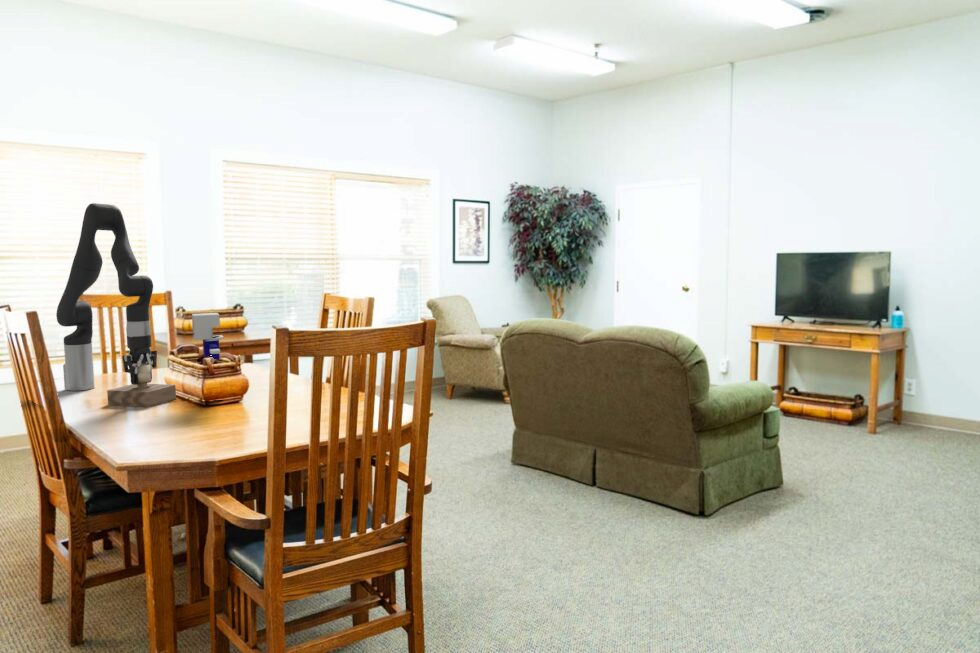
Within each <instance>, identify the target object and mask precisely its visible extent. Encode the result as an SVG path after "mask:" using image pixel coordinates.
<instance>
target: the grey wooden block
mask: <svg viewBox="0 0 980 653" xmlns="http://www.w3.org/2000/svg"><path fill="white" fill-rule="evenodd" d="M106 392H107V393H106V394H107V405H109V406H123V407H124V406H125V407H135V408H136V407H139V408H140V407H141V408H142V407H143V408H149V407H153V406H156V405H160V404H163V403H167V402H171V401H173V399H174V400H177V395H176V394H177V393H176V384H165V383H163V384H162V383H161V384H160V383H147V388H145V389H137V385H132V384H127V385H124V386H119V387H114V388H111V389H107V390H106Z"/></svg>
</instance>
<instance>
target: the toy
mask: <svg viewBox="0 0 980 653" xmlns="http://www.w3.org/2000/svg"><path fill="white" fill-rule="evenodd" d="M191 322H192V323H191V324H192V338H193V340H194V341H202V350H203V351H202V352H203V353H202V354H204V356H203V358H204V357H206V356H209V357H213V358H214V359H220V357H221V356H220V355H221V349H220V340H221V339H223V338H224V337H225V336H223V334H220V335H219V334H217V335H214V328H220V327H221V320H220V314H219V313H218V312H206V313H205V312H204V313H200V312H199V313H192V314H191ZM210 355H212V356H210Z"/></svg>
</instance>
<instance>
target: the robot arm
mask: <svg viewBox="0 0 980 653" xmlns="http://www.w3.org/2000/svg"><path fill="white" fill-rule="evenodd" d="M98 231H107V232H108V231H109V232H110V231H111V232H112V233H113V234H114V235H113V236H114V242H113V244H112V247H111V251H110V257H111V261H112V263H113V265H114V268H115V270H116V271H117V281H118V283H117V284H118V290H119V293H120V294H121V295H122V296H123V297H126V298H130V297H131V298H132V297H133V298H134V297H138V299H137V301H136V302H134V303H129V304H127V305H126V308H125V315H126V326H125V327H126V332H125V333H126V346H127V349H129V353H128V354H126V355H122V363H123V368H124V369H123V370H124V373H127V374H128V373H129V376H130V383H131V384H132V385H137V384H138V374H137V371H138V367H140V365H141V364H150V370H151V382H152V380H153V369H154V368H156V367H157V360H158V359H157V358H158V357H157V356H158V351H157V350H151V349H150V348H151V347H152V346H153V345H152V344H153V343H152V328H151V324H150V310H149V309H150V305H151V300H152V299H151V298H152V295H153V291H154V284H153V280H152V279H151V278H150V277H149V275H136V274H137V273H138V272H139V270H140V267H139V263H138V260H137V259H136V256H135V254H134V252H133V250H132V246H131V245H130V240H129V236H128V230H127V228H126V223H125V219H124V216H123V214H122V211H121V209H120V208H119V206H117V205H115V204H108V203H107V204H106V203H97V202H96V203H95V202H94V203H89V204H88V205H87V207H86V208H85V212H84V214H83V220H82V225H81V231H80V237H79V240H78V243H77V247H76V251H75V254H74V258H73V260H72V265H71V268H70V272H69V275H68V279H67V282H66V285H65V289H64V291H63V293H62V295H61V297H60V300H59V302H58V305H57V308H56V313H55V314H56V321H57V323H58V324H59V326H61V327H76V329H75V330H74V331H73V332H72V333H70V334H68V335H66V336H64V337H63V350H64V364H63V365H62V367H63V368H62V369H63V381H64V383H63V384H64V390H67V391H72V392H74V391H88V390H91V389H92V390H93V389H94V388H95V373H94V370H95V369H94V359H93V358H94V356H93V355H94V354H93V330H94V329H93V310H92V306H91V305H90V303H89V302H88V301H85V300H79V299H80V298H81V297H82V295H83V294H84V293H85V292H86V291H87V290H89V288H91V287H92V285H93V286H94V284H95V283H96V282H97V280H98V278H99V277H100V274H101V270H102V268H103V266H102V265H103V258H102V254H101V252H100V251H99V248H98V246H97V244H96V241H95V240H96V239H95V238H96V234H97V232H98ZM133 367H135V368H134V370H133ZM131 384H130V385H131Z"/></svg>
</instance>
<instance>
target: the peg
mask: <svg viewBox="0 0 980 653" xmlns="http://www.w3.org/2000/svg"><path fill="white" fill-rule="evenodd" d="M134 368H135V367H133V370H134ZM137 374H138V384H137V389H145V388H147V384H150V383H152V381H151V370H150V364H141V365H140V367H138V371H137Z"/></svg>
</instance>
